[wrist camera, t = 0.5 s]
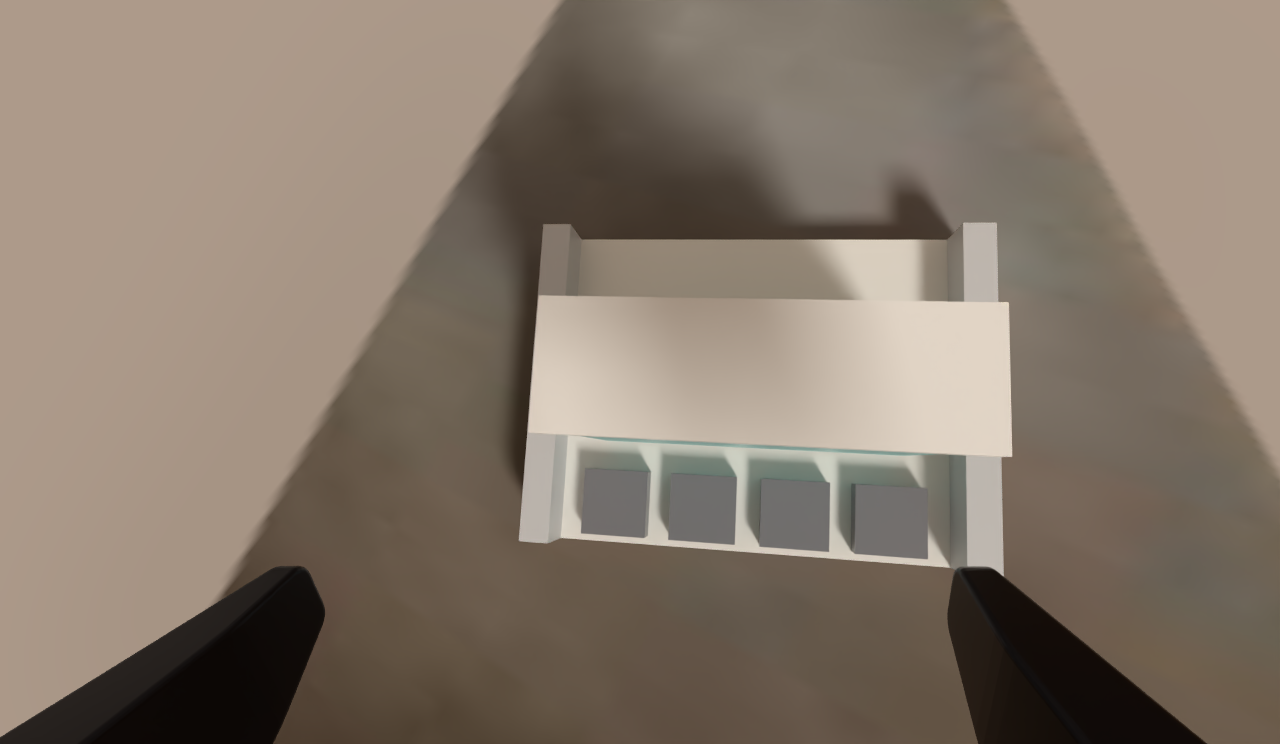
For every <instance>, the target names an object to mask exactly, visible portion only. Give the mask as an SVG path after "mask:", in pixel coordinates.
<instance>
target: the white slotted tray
mask: <svg viewBox="0 0 1280 744" xmlns="http://www.w3.org/2000/svg"><path fill="white" fill-rule="evenodd" d="M539 295H547V296H613V297H680V298H747V299H813V300H880V301H947V302H998V266H997V223H963V224H962V225H961V226H960V227H959V228H958V229H957V230H956V231H955V232H954V233H953V234H952V235H951V236H950V237H949V239H948V240H582V239H581V238H580V237H579V235H578V234H577V232H576V231H575V229H574V228H573V227H572V225H571V224H543V236H542V249H541V262H540V275H539V288H538V299H539ZM537 312H538V301H537ZM536 325H537V314H536ZM535 338H536V327H535ZM534 351H535V340H534ZM533 364H534V352H533ZM532 377H533V365H532ZM531 390H532V378H531ZM530 403H531V391H530ZM529 416H530V404H529ZM528 429H529V417H528ZM559 538H571V539H584V540H597V541H610V542H623V543H636V544H649V545H662V546H675V547H689V548H702V549H715V550H728V551H741V552H754V553H767V554H780V555H793V556H806V557H819V558H832V559H845V560H858V561H872V562H885V563H898V564H911V565H924V566H937V567H950V568H952V569H954V570H956V569H957V568H958V567H961V566H987V567H991V568H993V569H995V570H996V571H998V572H999V573H1000V574H1001V575H1002V576H1004V572H1003V521H1002V470H1001V457H984V456H964V455H945V454H936V455H912V456H896V455H876V454H857V453H837V452H818V451H798V450H779V449H759V448H740V447H720V446H701V445H681V444H662V443H642V442H623V441H606V440H600V439H594V438H588V437H582V436H568V435H548V434H535V433H528V430H527V443H526V456H525V469H524V482H523V495H522V508H521V521H520V533H519V541H525V542H538V543H550V542H552V541H554V540H557V539H559Z"/></svg>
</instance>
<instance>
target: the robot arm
mask: <svg viewBox="0 0 1280 744" xmlns="http://www.w3.org/2000/svg"><path fill="white" fill-rule="evenodd" d="M324 617H325V608H324V604H323V601H322V599H321V597H320V595H319V593H318V590H317V588H316V586H315V584H314V582H313V579H312V577H311V575H310V573H309V571H308V570H307V569H305V568H304V567H301V566H279V567H275V568H273V569H271V570H269V571H267V572H266V573H264V574H263V575H261V576H259V577H258V578H256V579H254V580H253V581H251V582H250V583H248V584H246V585H245V586H243V587H242V588H240V589H238V590H237V591H235V592H234V593H232V594H230V595H229V596H227V597H225V598H224V599H222V600H221V601H219V602H217V603H216V604H214V605H213V606H211V607H209V608H208V609H206V610H205V611H203V612H201V613H200V614H198V615H196V616H195V617H193V618H192V619H190V620H188V621H187V622H185V623H184V624H182V625H180V626H179V627H177V628H175V629H174V630H172V631H171V632H169V633H167V634H166V635H164V636H163V637H161V638H159V639H158V640H156V641H155V642H153V643H151V644H150V645H148V646H146V647H145V648H143V649H142V650H140V651H138V652H137V653H135V654H134V655H132V656H130V657H129V658H127V659H125V660H124V661H122V662H121V663H119V664H117V665H116V666H114V667H113V668H111V669H109V670H108V671H106V672H105V673H103V674H101V675H100V676H98V677H96V678H95V679H93V680H92V681H90V682H88V683H87V684H85V685H84V686H82V687H80V688H79V689H77V690H76V691H74V692H72V693H71V694H69V695H67V696H66V697H64V698H63V699H61V700H59V701H58V702H56V703H55V704H53V705H51V706H50V707H48V708H46V709H45V710H43V711H42V712H40V713H38V714H37V715H35V716H34V717H32V718H31V719H29V720H27V721H26V722H24V723H22V724H21V725H19V726H17V727H16V728H14V729H13V730H11V731H9V732H8V733H6V734H5V735H3V736H1V737H0V744H273V742H274V740H275V738H276V736H277V734H278V732H279V730H280V728H281V726H282V724H283V721H284V719H285V716H286V714H287V712H288V710H289V707H290V705H291V702H292V700H293V697H294V695H295V692H296V690H297V687H298V685H299V682H300V680H301V677H302V675H303V672H304V670H305V667H306V665H307V662H308V660H309V657H310V655H311V652H312V650H313V647H314V645H315V642H316V640H317V638H318V635H319V633H320V630H321V628H322V625H323V622H324ZM948 627H949V633H950V637H951V641H952V644H953V648H954V652H955V656H956V660H957V664H958V668H959V672H960V675H961V679H962V683H963V687H964V691H965V695H966V699H967V703H968V706H969V710H970V714H971V718H972V722H973V726H974V730H975V734H976V737H977V741H978V744H1207V743H1206V742H1204V741H1203V740H1202V739H1201V738H1200V737H1198V736H1197V735H1196V734H1195V733H1194V732H1192V731H1191V730H1190V729H1189V728H1187V727H1186V726H1185V725H1184V724H1183V723H1181V722H1180V721H1179V720H1178V719H1177V718H1175V717H1174V716H1173V715H1172V714H1170V713H1169V712H1168V711H1167V710H1166V709H1164V708H1163V707H1162V706H1161V705H1159V704H1158V703H1157V702H1156V701H1155V700H1153V699H1152V698H1151V697H1150V696H1149V695H1147V694H1146V693H1145V692H1144V691H1142V690H1141V689H1140V688H1139V687H1138V686H1136V685H1135V684H1134V683H1133V682H1131V681H1130V680H1129V679H1128V678H1127V677H1125V676H1124V675H1123V674H1122V673H1121V672H1119V671H1118V670H1117V669H1116V668H1114V667H1113V666H1112V665H1111V664H1110V663H1108V662H1107V661H1106V660H1105V659H1103V658H1102V657H1101V656H1100V655H1099V654H1097V653H1096V652H1095V651H1094V650H1093V649H1091V648H1090V647H1089V646H1088V645H1086V644H1085V643H1084V642H1083V641H1082V640H1080V639H1079V638H1078V637H1077V636H1075V635H1074V634H1073V633H1072V632H1071V631H1069V630H1068V629H1067V628H1066V627H1065V626H1063V625H1062V624H1061V623H1060V622H1058V621H1057V620H1056V619H1055V618H1054V617H1052V616H1051V615H1050V614H1049V613H1047V612H1046V611H1045V610H1044V609H1043V608H1041V607H1040V606H1039V605H1038V604H1037V603H1035V602H1034V601H1033V600H1032V599H1030V598H1029V597H1028V596H1027V595H1026V594H1024V593H1023V592H1022V591H1021V590H1019V589H1018V588H1017V587H1016V586H1015V585H1013V584H1012V583H1011V582H1010V581H1009V580H1007V579H1006V578H1005V577H1004V576H1002V575H1001V574H1000V573H999V572H998V571H996V570H995V569H993V568H991V567H987V566H961V567H958V568H957V569H956V570H955V572H954V574H953V580H952V586H951V593H950V600H949V606H948Z"/></svg>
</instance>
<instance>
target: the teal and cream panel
mask: <svg viewBox="0 0 1280 744" xmlns="http://www.w3.org/2000/svg"><path fill="white" fill-rule="evenodd" d="M528 433H535V434H548V435H568V436H582V437H588V438H594V439H600V440H606V441H623V442H642V443H662V444H681V445H701V446H720V447H740V448H759V449H779V450H798V451H818V452H837V453H857V454H876V455H896V456H912V455H936V454H945V455H964V456H984V457H1012V430H1011V384H1010V338H1009V302H947V301H880V300H813V299H747V298H680V297H613V296H547V295H539V299H538V312H537V325H536V338H535V351H534V364H533V377H532V390H531V403H530V416H529V429H528Z"/></svg>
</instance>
